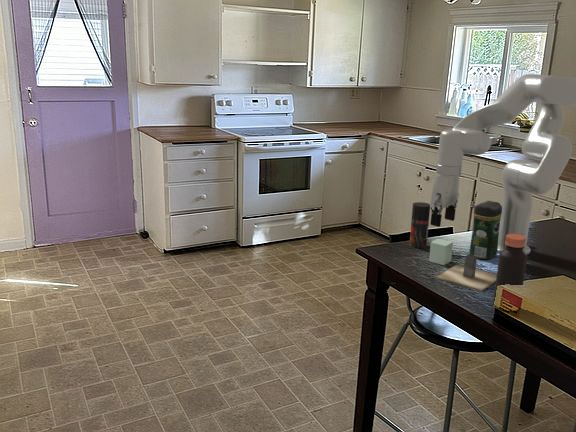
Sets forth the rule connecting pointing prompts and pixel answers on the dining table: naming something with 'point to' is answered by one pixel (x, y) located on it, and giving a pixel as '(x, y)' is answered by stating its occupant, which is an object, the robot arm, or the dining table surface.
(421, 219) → the deodorant
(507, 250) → the bottle
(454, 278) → the post stand
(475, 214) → the coffee jar
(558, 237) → the dining table surface
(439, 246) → the pale green rectangular prism
